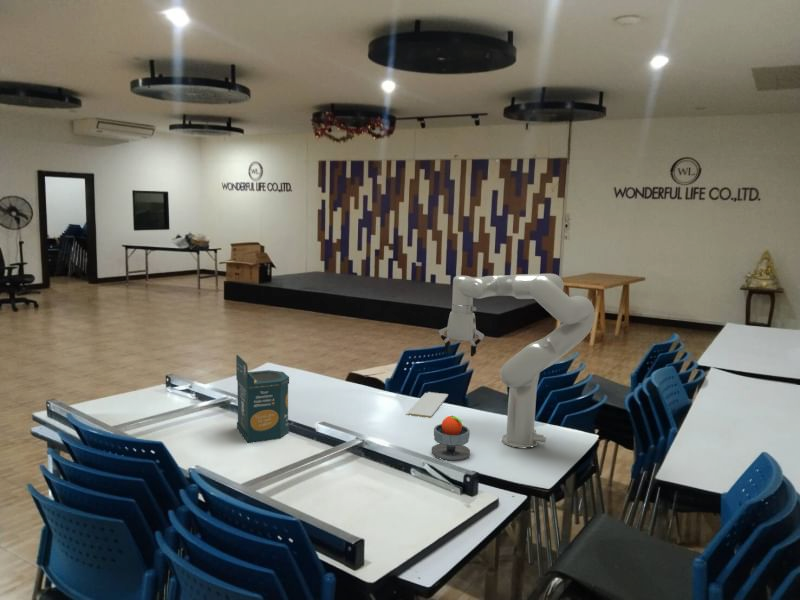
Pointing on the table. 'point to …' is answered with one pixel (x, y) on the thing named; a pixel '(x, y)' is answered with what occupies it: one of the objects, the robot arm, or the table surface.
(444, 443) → the stand
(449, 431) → the clementine
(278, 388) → the donation box
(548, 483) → the table surface
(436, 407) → the baseboard molding
